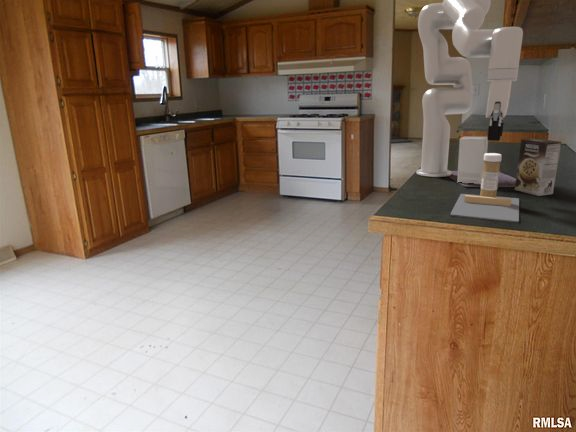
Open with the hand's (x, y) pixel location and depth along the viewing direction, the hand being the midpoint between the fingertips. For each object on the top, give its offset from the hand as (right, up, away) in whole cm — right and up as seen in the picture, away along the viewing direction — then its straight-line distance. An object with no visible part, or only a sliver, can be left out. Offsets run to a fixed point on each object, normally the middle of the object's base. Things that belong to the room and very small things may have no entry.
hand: (494, 138), depth 125 cm
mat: (-5, -20, -5) cm, 21 cm away
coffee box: (+17, -15, +10) cm, 25 cm away
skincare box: (+4, -11, +26) cm, 28 cm away
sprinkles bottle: (-2, -18, +1) cm, 18 cm away
